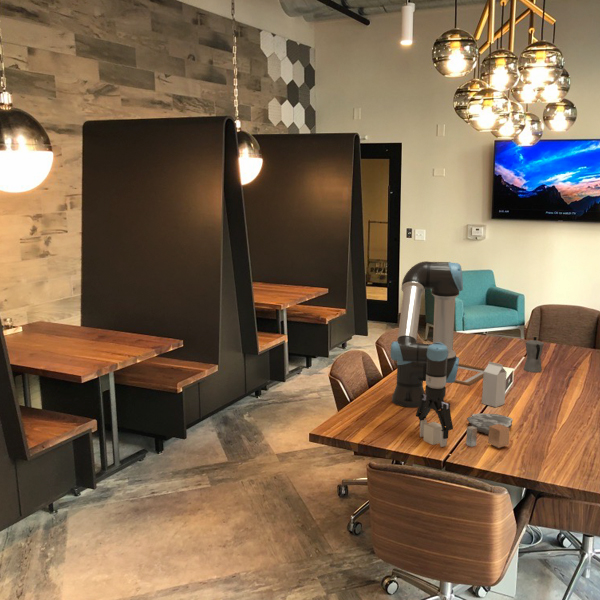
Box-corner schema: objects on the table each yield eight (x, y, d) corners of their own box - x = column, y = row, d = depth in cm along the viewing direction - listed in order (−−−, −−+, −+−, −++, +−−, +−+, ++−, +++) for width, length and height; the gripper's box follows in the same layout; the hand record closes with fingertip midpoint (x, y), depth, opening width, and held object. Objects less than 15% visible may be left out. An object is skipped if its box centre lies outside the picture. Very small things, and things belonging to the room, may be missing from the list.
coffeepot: (520, 366, 358) (522, 333, 355) (538, 366, 358) (541, 334, 354) (527, 374, 343) (530, 340, 340) (546, 375, 343) (549, 341, 339)
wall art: (428, 357, 371) (494, 370, 348) (428, 360, 371) (493, 372, 348) (400, 370, 346) (469, 384, 324) (400, 372, 347) (469, 386, 324)
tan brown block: (488, 445, 251) (489, 426, 250) (497, 442, 254) (498, 423, 253) (498, 450, 247) (499, 430, 246) (508, 447, 250) (509, 428, 248)
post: (466, 444, 252) (467, 427, 251) (471, 443, 253) (472, 425, 252) (471, 447, 250) (472, 429, 248) (476, 445, 251) (477, 428, 250)
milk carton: (495, 407, 293) (497, 366, 289) (481, 403, 298) (484, 362, 295) (504, 404, 297) (507, 363, 294) (491, 400, 303) (493, 360, 299)
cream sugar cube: (423, 440, 256) (424, 424, 254) (433, 437, 258) (434, 421, 257) (432, 445, 251) (433, 428, 250) (442, 442, 254) (443, 425, 253)
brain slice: (479, 416, 283) (479, 409, 282) (518, 426, 272) (518, 419, 272) (458, 429, 268) (458, 422, 267) (498, 440, 257) (499, 432, 257)
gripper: (407, 379, 258) (405, 432, 262) (450, 395, 239) (446, 453, 243) (422, 376, 262) (420, 429, 266) (465, 392, 243) (461, 449, 247)
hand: (432, 441), depth 255 cm, fingers open, 11 cm apart
